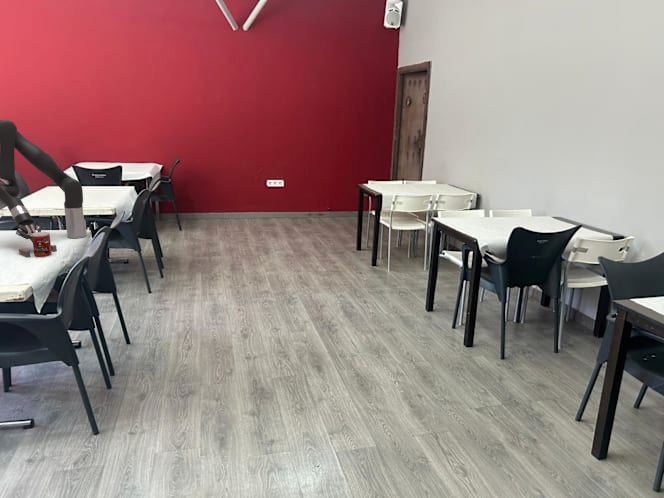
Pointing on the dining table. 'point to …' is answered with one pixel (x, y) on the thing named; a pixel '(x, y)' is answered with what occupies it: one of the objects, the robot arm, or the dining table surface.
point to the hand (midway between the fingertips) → (37, 244)
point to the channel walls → (22, 252)
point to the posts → (27, 253)
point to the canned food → (41, 244)
